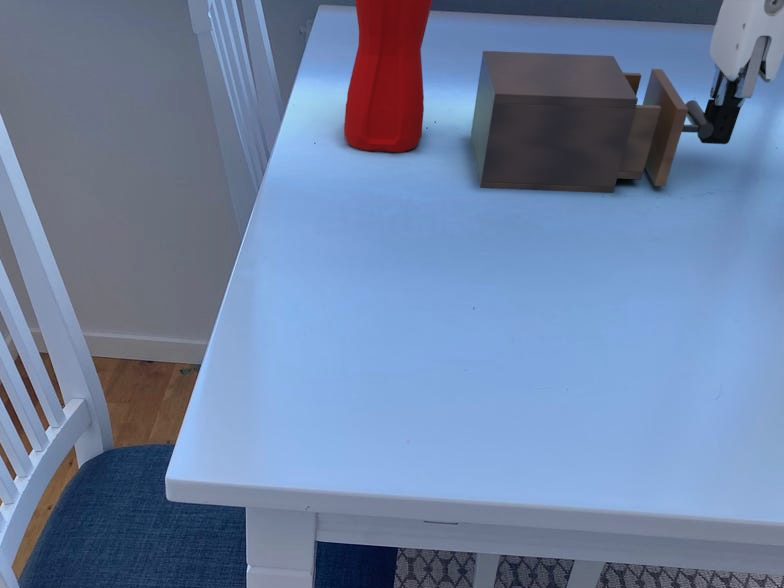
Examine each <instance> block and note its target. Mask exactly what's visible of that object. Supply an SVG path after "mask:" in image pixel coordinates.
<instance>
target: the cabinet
mask: <svg viewBox="0 0 784 588" xmlns="http://www.w3.org/2000/svg"><path fill="white" fill-rule="evenodd" d="M623 72H624V71H622V68H621V67H620V65H619V63H618V61H617V60H616V58H615V56H614V55H602V54H601V55H597V54H575V53H573V54H572V53H549V52H522V51H499V50H498V51H495V50H482V55H481V63H480V69H479V75H478V76H479V77H478V82H477V89H476V97H475V102H474V103H475V104H474V108H473V109H474V110H473V118H472V122H471V123H472V124H471V130H470V136H469V137H470V138H469V142H470V147H471V151H472V156H473V161H474V165H475V166H474V167H475V171H476V175H477V179H478V185H479V188H480V189H495V190H496V189H497V190H499V189H500V190H521V191H522V190H523V191H524V190H525V191H546V192H547V191H548V192H550V191H551V192H569V193H570V192H571V193H597V194H600V193H601V194H614V191H615V187H616V184H617V181H618V178H617V177H618V173H619V169H620V165H621V162H622V158H623V154H624V150H625V146H626V143H627V139H628V135H629V131H630V127H631V124H632V120H633V116H634V112H635V108H636V105H638V102H639V99H638V96H637V95H635V93H634V91H633V90H632V88H631V86H630V84H629V83H628V81H627V79H626V77H625V76H624V74H623Z"/></svg>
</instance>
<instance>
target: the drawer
mask: <svg viewBox="0 0 784 588" xmlns="http://www.w3.org/2000/svg"><path fill="white" fill-rule="evenodd" d="M622 72H623V74H624V76H625V77H626V79H627V81H628V83H629V84H630V86H631V88H632V90H633V91H634V93H635V95H636V96H637V94H638V90H639V87H640V83H641V79H642V74H641V73H640V72H624V71H622ZM686 119H687V121H689V123H690V124H686V123H685V122H686ZM713 129H714V128H713V125H712V123H711V122H710V120H709V119H708V118H707V116H706V115H705V111H704V110H703V109H702V107H701V106H700V105H699V103H698V101H696V100H695V99H692V100H689V101H687V102H686V103H685V102H684V100H683V99H682V97H681V96H680V94H679V93H678V91H677V90H676V88H675V86H674V85H673V83H672V82H671V81H670V79H669V78H668V76H667V75H666V73H665V71H664V70H663V69H662V68H652V69H651V71H650V74H649V78H648V82H647V86H646V90H645V93H644V97H643V101H642V104H637V105H636V108H635V112H634V116H633V120H632V124H631V127H630V131H629V135H628V139H627V143H626V146H625V150H624V154H623V158H622V162H621V165H620V169H619V173H618V177H617V179H624V180H642V177H643V174H644V171H645V169H646V173H647V174H648V175H649V177H650V179H651V182H652V184H653V186H654V187H666V185H667V182H668V179H669V175H670V172H671V169H672V166H673V162H674V159H675V155H676V152H677V148H678V145H679V142H680V139H681V135H682V133H694V134H695V133H696V134H697V136H698V135H699V137H700V138H707V137H709V136H710V135H711V134H712V132H713Z"/></svg>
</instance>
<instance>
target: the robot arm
mask: <svg viewBox="0 0 784 588" xmlns="http://www.w3.org/2000/svg"><path fill="white" fill-rule="evenodd" d="M712 32H713V33H712V36H711V40H710V45H709V55H710V57H711V59H712V60H713V62H714V68H715V72H714V76H713V80H712V84H711V87H710V91H709V98H708V101H707V103H706V106H705V110H704V113H705V115H706V116H707V118H708V119H709V120H710V122H711V123H712V125H713V128H714V129H713V132H712V134H711V135H710V136H709V137H707V138H700V137H699V135H698V134H697V137H698V139H699V141H700V142H701V144H709V145H710V144H712V145H727V144H728V143H730V141H731V137H732V135H733V132H734V129H735V126H736V123H737V121H738V118H739V114H740V111H741V109H742V107H743V106H744V103H745V101H746V99H752V97H753V95H754V91H755V88H756V83H757V80H758V76H759V77H760V78H761V80H762V81H763V82H764V83H767V84H769V83H772V82H773V81H774V80H775V79H776V77H777V75H778V73H779V70H780V67H781V64H782V61H783V58H784V0H722V3H721V7H720V9H719V12H718V16H717V19H716V22H715V25H714V28H713V31H712Z"/></svg>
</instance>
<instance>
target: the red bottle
mask: <svg viewBox="0 0 784 588" xmlns="http://www.w3.org/2000/svg"><path fill="white" fill-rule="evenodd" d="M433 1H434V0H354V2H355V3H354V4H355V10H356V18H357V26H358V46H357V50H356V54H355V58H354V63H353V68H352V72H351V76H350V81H349V85H348V88H347V94H346V103H345V110H344V111H345V112H344V123H343V135H344V139H345V140H346V142H347V144H348V145H349V146H351V147H353V148H355V149H357V150H358V151H366V152H383V153H397V154H398V153H399V154H400V153H405V152H408V151H411V150H413V149H415V148H416V147H417V146H418V144H419V143H420V141H421V139H422V133H423V121H424V111H425V107H424V99H425V97H424V96H425V95H424V81H423V80H424V79H423V63H422V45H423V41H424V36H425V33H426V30H427V25H428V20H429V17H430V13H431V8H432V5H433V4H432V3H433Z"/></svg>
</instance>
